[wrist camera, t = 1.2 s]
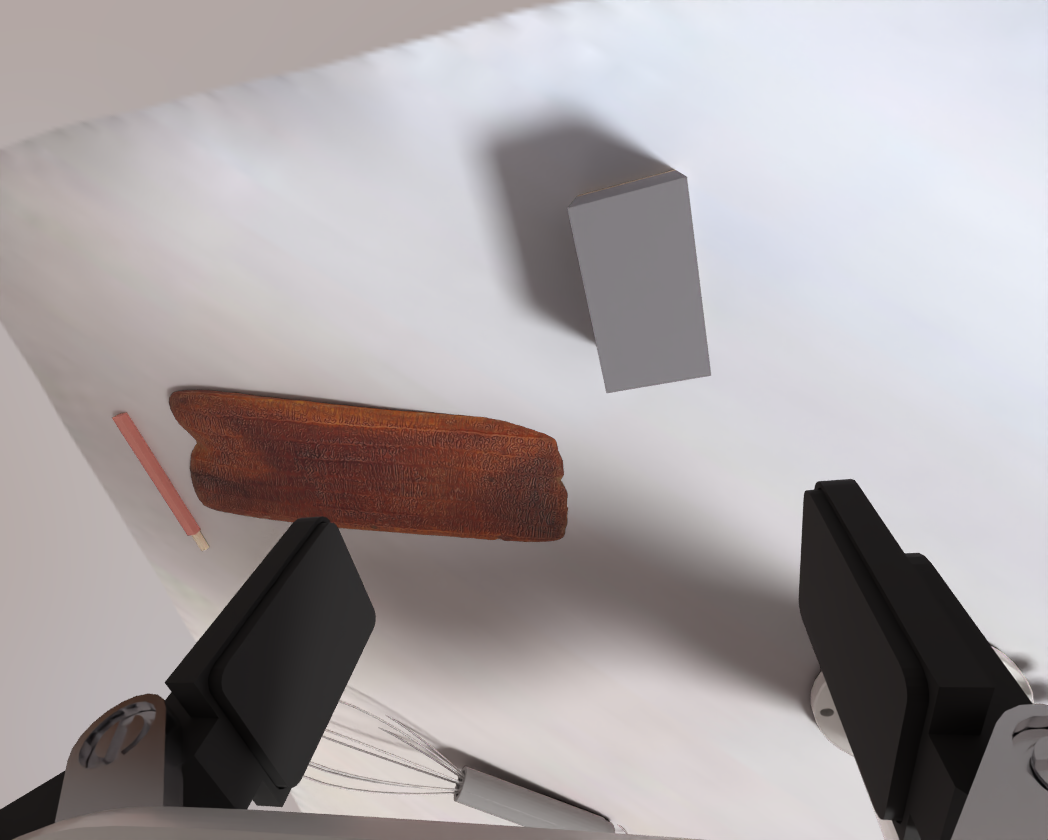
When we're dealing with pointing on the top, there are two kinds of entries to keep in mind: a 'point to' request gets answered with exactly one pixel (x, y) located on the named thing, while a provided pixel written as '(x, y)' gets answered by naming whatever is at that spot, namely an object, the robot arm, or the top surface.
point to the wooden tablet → (373, 467)
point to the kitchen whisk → (486, 793)
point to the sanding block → (642, 281)
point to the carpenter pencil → (159, 478)
